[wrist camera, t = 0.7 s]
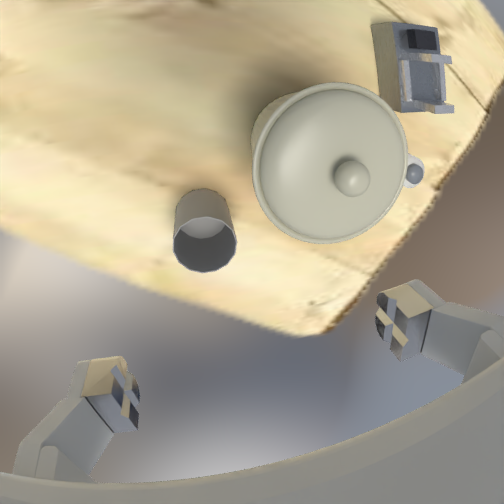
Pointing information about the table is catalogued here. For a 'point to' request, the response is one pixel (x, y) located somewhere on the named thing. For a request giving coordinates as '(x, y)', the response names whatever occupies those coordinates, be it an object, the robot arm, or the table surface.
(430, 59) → the grey holder stand
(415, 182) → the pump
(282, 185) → the canister
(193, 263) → the cup
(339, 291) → the table surface
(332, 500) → the robot arm
